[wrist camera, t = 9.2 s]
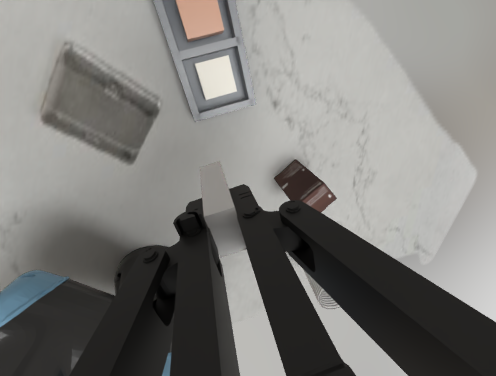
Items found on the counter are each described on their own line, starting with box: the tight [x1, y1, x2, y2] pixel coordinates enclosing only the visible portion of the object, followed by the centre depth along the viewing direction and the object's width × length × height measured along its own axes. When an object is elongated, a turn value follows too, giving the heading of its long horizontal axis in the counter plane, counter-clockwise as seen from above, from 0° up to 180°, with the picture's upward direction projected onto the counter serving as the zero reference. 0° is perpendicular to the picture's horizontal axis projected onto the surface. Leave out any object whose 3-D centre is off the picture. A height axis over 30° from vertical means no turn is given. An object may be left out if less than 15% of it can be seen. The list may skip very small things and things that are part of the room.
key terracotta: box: [175, 0, 224, 42], centre depth 28 cm, size 5×5×2 cm
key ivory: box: [195, 55, 237, 100], centre depth 33 cm, size 5×5×2 cm
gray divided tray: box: [153, 0, 256, 122], centre depth 30 cm, size 10×25×4 cm, turn 13°
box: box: [274, 160, 337, 213], centre depth 41 cm, size 6×4×12 cm
